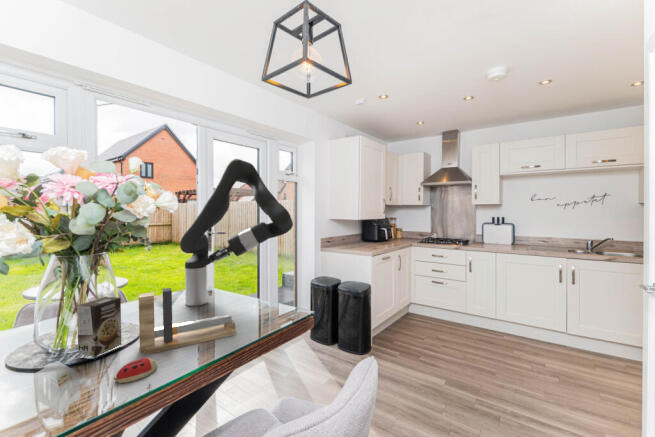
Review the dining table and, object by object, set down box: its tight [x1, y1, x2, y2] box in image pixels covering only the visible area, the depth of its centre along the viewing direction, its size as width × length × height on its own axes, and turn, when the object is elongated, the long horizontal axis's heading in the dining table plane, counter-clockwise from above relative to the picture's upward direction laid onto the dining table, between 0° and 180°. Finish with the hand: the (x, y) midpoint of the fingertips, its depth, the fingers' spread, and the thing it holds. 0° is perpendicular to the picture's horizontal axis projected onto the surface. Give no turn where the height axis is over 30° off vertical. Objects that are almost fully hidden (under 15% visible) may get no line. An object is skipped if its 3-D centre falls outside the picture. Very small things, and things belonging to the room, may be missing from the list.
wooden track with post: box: [138, 292, 237, 355], centre depth 99 cm, size 9×29×17 cm, turn 122°
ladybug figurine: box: [114, 357, 158, 384], centre depth 78 cm, size 7×10×4 cm
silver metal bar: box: [154, 313, 233, 338], centre depth 100 cm, size 3×26×3 cm, turn 122°
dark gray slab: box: [162, 287, 173, 342], centre depth 96 cm, size 5×2×16 cm, turn 32°
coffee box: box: [77, 296, 122, 357], centre depth 90 cm, size 9×6×16 cm
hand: (200, 265), depth 107 cm, fingers closed
